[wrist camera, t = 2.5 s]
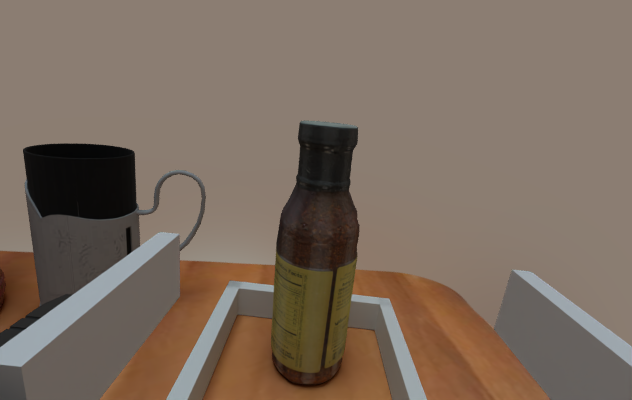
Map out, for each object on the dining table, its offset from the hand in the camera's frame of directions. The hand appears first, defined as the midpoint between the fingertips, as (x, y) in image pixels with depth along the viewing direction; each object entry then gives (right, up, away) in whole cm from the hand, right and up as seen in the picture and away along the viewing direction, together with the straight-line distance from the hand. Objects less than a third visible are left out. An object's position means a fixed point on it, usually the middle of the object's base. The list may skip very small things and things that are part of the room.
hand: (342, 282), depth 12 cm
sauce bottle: (-2, -11, +14) cm, 18 cm away
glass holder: (-20, -7, +19) cm, 28 cm away
